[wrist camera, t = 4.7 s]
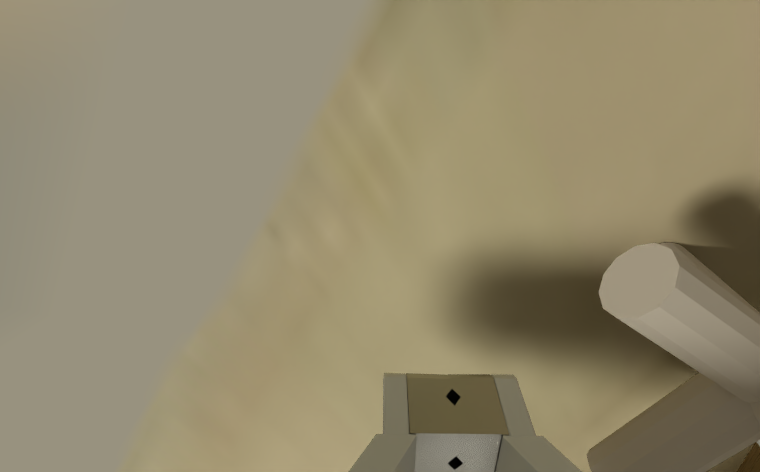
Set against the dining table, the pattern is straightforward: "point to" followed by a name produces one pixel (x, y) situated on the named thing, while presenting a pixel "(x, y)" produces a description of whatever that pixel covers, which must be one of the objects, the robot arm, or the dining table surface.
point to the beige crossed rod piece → (694, 347)
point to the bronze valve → (751, 460)
